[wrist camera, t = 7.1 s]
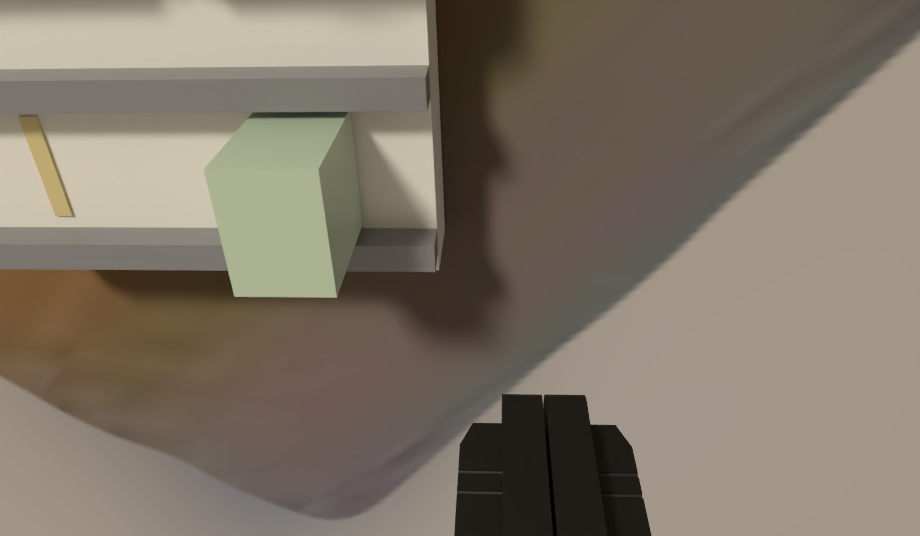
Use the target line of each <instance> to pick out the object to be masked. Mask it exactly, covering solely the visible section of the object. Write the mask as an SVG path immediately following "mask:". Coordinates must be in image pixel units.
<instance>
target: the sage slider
mask: <svg viewBox="0 0 920 536" xmlns="http://www.w3.org/2000/svg"><path fill="white" fill-rule="evenodd" d="M204 173H205V177H206V181H207V185H208V189H209V193H210V198H211V202H212V206H213V210H214V214H215V218H216V223H217V227H218V231H219V235H220V239H221V243H222V247H223V252H224V256H225V260H226V264H227V268H228V272H229V277H230V281H231V285H232V289H233V293H234V297H323V298H337V296H338V293H339V290H340V287H341V285H342V282H343V279H344V276H345V273H346V270H347V267H348V264H349V262H350V259H351V256H352V253H353V250H354V247H355V244H356V242H357V239H358V236H359V233H360V230H361V227H362V224H363V221H362V212H361V203H360V194H359V185H358V177H357V168H356V159H355V150H354V141H353V132H352V124H351V115H350V112H253V113H252V114H251V115H250V116H249V118H248V119H247V120H246V121H245V122H244V123H243V124H242V126H241V127H240V128H239V129H238V130H237V131H236V133H235V134H234V135H233V136H232V137H231V138H230V140H229V141H228V142H227V143H226V144H225V145H224V147H223V148H222V149H221V150H220V151H219V152H218V153H217V155H216V156H215V157H214V158H213V159H212V160H211V162H210V163H209V164H208V165H207V166H206V167H205V169H204Z"/></svg>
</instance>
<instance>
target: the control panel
mask: <svg viewBox="0 0 920 536" xmlns="http://www.w3.org/2000/svg"><path fill="white" fill-rule="evenodd" d="M253 112H350V115H351V124H352V132H353V141H354V150H355V159H356V168H357V177H358V185H359V194H360V203H361V212H362V221H363V224H362V227H361V230H360V233H359V236H358V239H357V242H356V244H355V247H354V250H353V253H352V256H351V259H350V262H349V264H348V267H347V270H346V271H348V272H436V270H439V267H440V260H441V253H442V246H443V239H444V232H445V219H444V195H443V171H442V147H441V123H440V99H439V75H438V51H437V27H436V3H435V0H0V269H64V270H206V271H228V268H227V264H226V260H225V256H224V252H223V247H222V243H221V239H220V235H219V231H218V227H217V223H216V218H215V214H214V210H213V206H212V202H211V198H210V193H209V189H208V185H207V181H206V177H205V173H204V169H205V167H206V166H207V165H208V164H209V163H210V162H211V160H212V159H213V158H214V157H215V156H216V155H217V153H218V152H219V151H220V150H221V149H222V148H223V147H224V145H225V144H226V143H227V142H228V141H229V140H230V138H231V137H232V136H233V135H234V134H235V133H236V131H237V130H238V129H239V128H240V127H241V126H242V124H243V123H244V122H245V121H246V120H247V119H248V118H249V116H250V115H251V114H252V113H253Z"/></svg>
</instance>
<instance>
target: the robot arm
mask: <svg viewBox="0 0 920 536" xmlns="http://www.w3.org/2000/svg"><path fill="white" fill-rule="evenodd" d="M455 536H651V532H650V527H649V523H648V518H647V513H646V509H645V504H644V500H643V499H642V491H641V486H640V481H639V478H638V472H637V468H636V463H635V458H634V454H633V449H632V446H631V445H630V444H629V443H628V441H627V440H626V439H625V438H624V436H623V435H622V433H621V432H620V431H619V429H618V428H617V427H616V425H590V420H589V413H588V407H587V401H586V397H585V395H545V396H544V404H543V401H542V395H519V394H518V395H516V394H502V423H501V424H500V423H473V424H472V425H471V427H470V429H469V430H468V432H467V434H466V435H465V437H464V439H463V440H462V442H461V444H460V454H459V472H458V486H457V502H456V518H455Z"/></svg>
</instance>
